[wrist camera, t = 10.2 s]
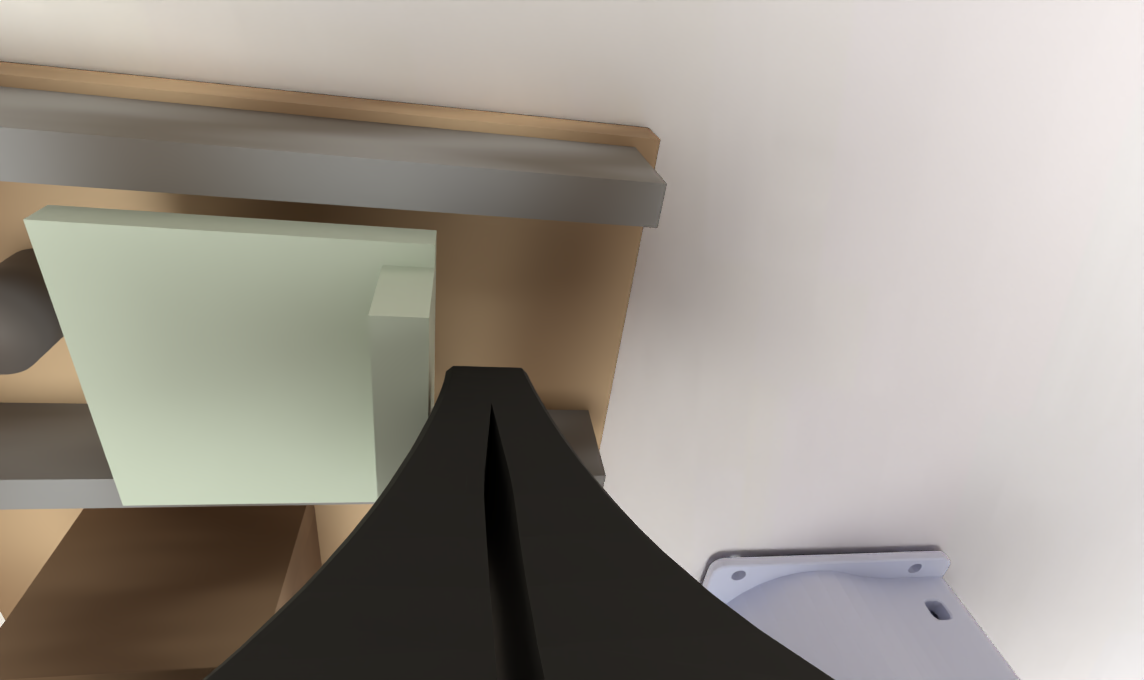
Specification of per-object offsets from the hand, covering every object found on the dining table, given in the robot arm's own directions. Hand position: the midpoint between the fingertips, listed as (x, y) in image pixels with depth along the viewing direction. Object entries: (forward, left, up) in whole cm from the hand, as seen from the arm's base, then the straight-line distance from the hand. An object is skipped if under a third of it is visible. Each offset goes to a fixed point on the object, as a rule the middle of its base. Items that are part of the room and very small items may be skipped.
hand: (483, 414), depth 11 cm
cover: (+4, 0, -1) cm, 4 cm away
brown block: (+7, +8, -4) cm, 11 cm away
